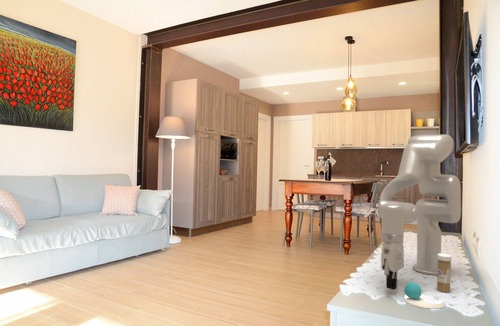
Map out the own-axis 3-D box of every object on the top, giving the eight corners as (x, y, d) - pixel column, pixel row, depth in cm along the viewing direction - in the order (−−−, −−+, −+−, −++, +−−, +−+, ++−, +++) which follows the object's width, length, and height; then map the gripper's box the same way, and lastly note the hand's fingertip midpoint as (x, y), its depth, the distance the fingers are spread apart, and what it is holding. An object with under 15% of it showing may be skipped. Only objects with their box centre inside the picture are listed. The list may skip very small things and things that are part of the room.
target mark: (410, 291, 130) (410, 290, 130) (450, 301, 121) (450, 300, 121) (396, 300, 121) (396, 300, 121) (438, 312, 112) (438, 311, 112)
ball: (426, 287, 123) (419, 301, 124) (411, 278, 126) (404, 290, 127) (421, 290, 119) (413, 303, 120) (406, 279, 122) (399, 293, 123)
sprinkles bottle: (434, 289, 132) (434, 253, 132) (441, 287, 134) (442, 252, 134) (445, 293, 128) (446, 256, 128) (453, 291, 130) (454, 255, 130)
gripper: (394, 243, 120) (393, 296, 120) (410, 236, 131) (409, 286, 131) (373, 239, 126) (372, 291, 126) (390, 233, 136) (389, 281, 136)
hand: (391, 288), depth 128 cm, fingers closed
